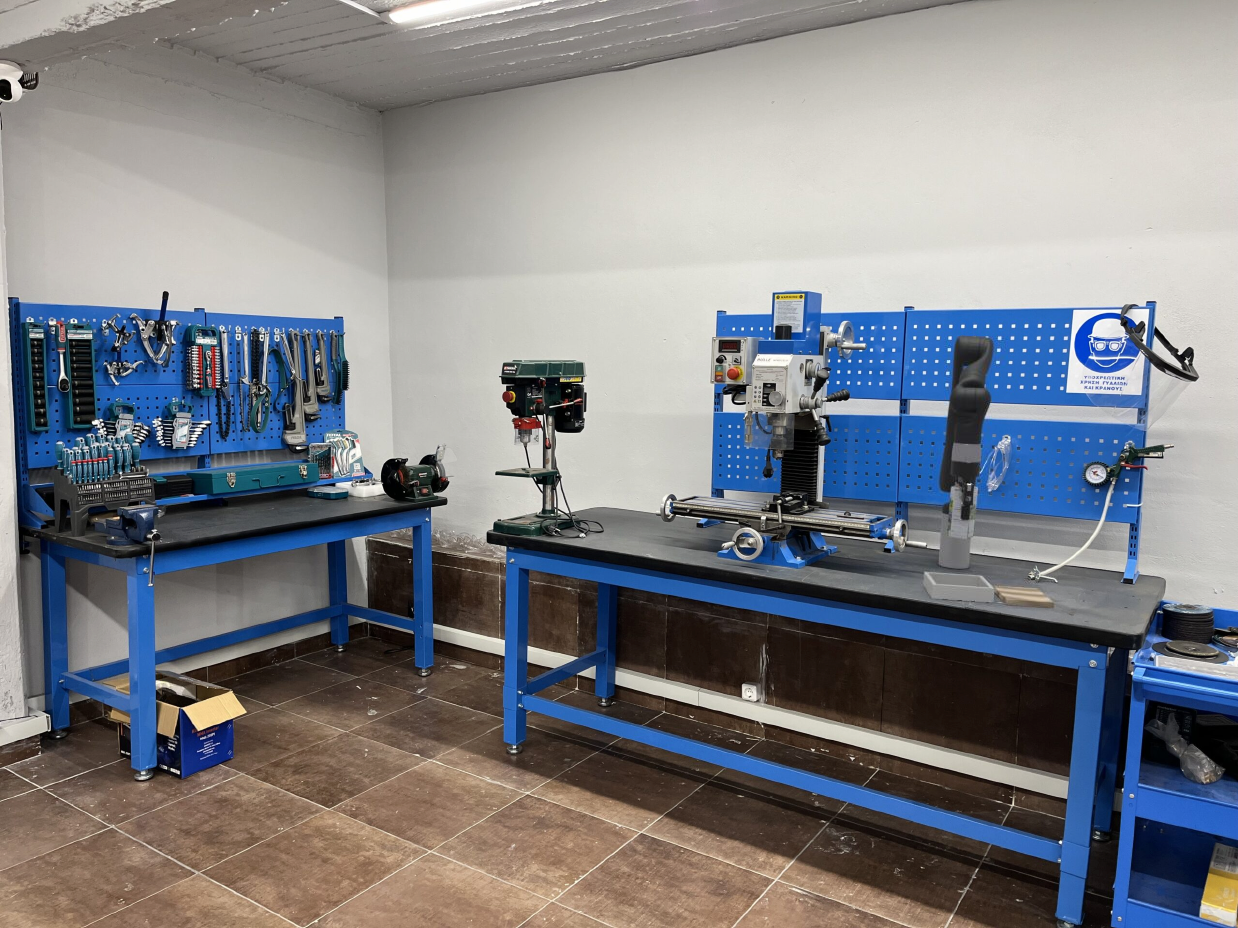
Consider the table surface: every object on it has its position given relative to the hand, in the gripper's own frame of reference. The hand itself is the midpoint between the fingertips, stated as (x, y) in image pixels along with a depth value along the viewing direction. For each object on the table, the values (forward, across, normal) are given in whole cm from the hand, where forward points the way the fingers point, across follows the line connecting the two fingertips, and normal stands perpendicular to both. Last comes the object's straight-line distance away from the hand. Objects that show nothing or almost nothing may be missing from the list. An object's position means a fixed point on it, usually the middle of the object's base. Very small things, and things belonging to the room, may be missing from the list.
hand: (962, 517), depth 245 cm
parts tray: (+22, 0, 0) cm, 22 cm away
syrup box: (+6, 0, 0) cm, 6 cm away
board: (+22, +1, +17) cm, 28 cm away
